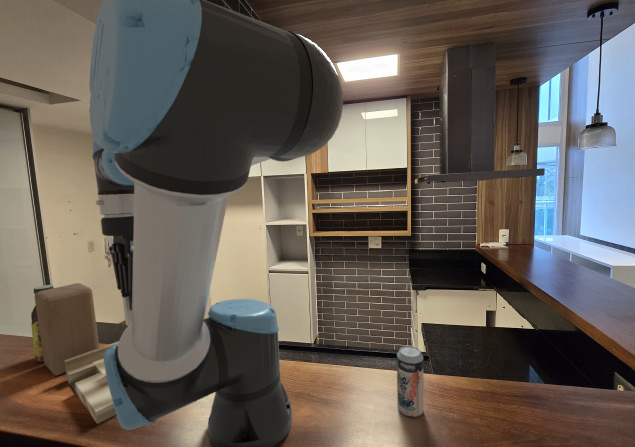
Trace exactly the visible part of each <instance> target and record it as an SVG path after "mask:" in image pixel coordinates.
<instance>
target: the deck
mask: <svg viewBox="0 0 635 447" xmlns="http://www.w3.org/2000/svg"><path fill="white" fill-rule="evenodd" d="M119 341H120V340H118V341H115V342H112V343H110V344H106V345H104V346H100V347H99V348H98V349H95V350H92V351H89V352H87V353H84V354H81V355H78V356H75V357H73V358H70V359H67V360H64V361H65V368H66V372H65V374H66V380H67V383H68V384H69V386H70V387H71V388H72V389H73V390H74V392H75V395H77V396H78V398H79V399H80V401H81V403H82V404H83V406H85V408H86V410H87V411H88V413H89V414H90V416H91V417H92V419H93V420H94V421H95V423H96V424H97V425H98V424H101V423H103V422H104V421H107V420H108V419H110V418H112V417H115V416H117V415H116V412H115V408H114V404H113V400H112V397H111V394H110V390H109V385H108V381H107V376H106V371H105V366H104V358H103V357H104V352H105V351H106V350H107V349H108V348H110V347H113V346H114V345H115V344H118V343H119Z"/></svg>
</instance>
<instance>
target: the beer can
mask: <svg viewBox="0 0 635 447" xmlns="http://www.w3.org/2000/svg"><path fill="white" fill-rule="evenodd" d="M396 380H397V381H396V386H397V388H396V391H397V393H396V394H397V396H396V398H397V400H396V401H397V409H398V411H399V412H401V414H402V415H404V416H407V417H411V416H412V417H413V418H415V417H419V416H421V415H423V412H424V356H423V354H422V352H421V350H420V349H419V348H418V347H415V346H410V345H405V346H401V347H400V349H398V351H397V353H396Z"/></svg>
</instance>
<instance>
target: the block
mask: <svg viewBox="0 0 635 447" xmlns="http://www.w3.org/2000/svg"><path fill="white" fill-rule="evenodd" d="M93 294H94V293H93V289H92V288H91V287H89V286H88V285H87V286H86V285H84V284H83V283H81V282H76V283H72V284H67V285H64V286H58V287H54V288H52V289H48V290H43V291H39V292H37V293H35V294H34V302H35V305H36V311H37V317H38V324H39V331H40V338H41V345H42V352H43V359H44V361H43V363H44V366H46V367H47V368H48V370H49V371H50V372H51V373H52V374H53V376H59V375H62V374H64V373H65V374H66V368H65V361H64V360H67V359H70V358H73V357H75V356H78V355H81V354H84V353H87V352H89V351H92V350H95V349H98V348H100V344H99V336H98V326H97V319H96V312H95V311H96V310H95V304H94V302H95V301H94V297H93V296H94V295H93Z"/></svg>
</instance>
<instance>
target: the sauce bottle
mask: <svg viewBox="0 0 635 447" xmlns="http://www.w3.org/2000/svg"><path fill="white" fill-rule="evenodd" d="M52 288H55V287H54V285H53V284H45V285H39V286H35V287H33V294H34V295H35V293H37V292H39V291H43V290H48V289H52ZM30 318H31V323H30V324H31V334H32V345H33V346H32V348H33V355H34V358H35V361H36V362H39V363H40V362H41V363H42V362H43V363H44V359H43V352H42V345H41V338H40V331H39V324H38V317H37V311H36V304H35V305H34V308H33V309H32V311H31V317H30Z"/></svg>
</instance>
